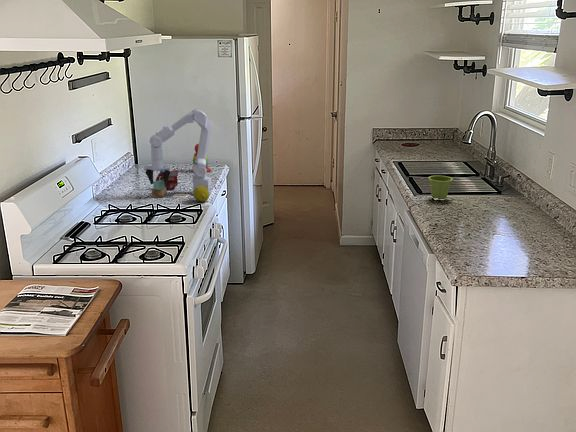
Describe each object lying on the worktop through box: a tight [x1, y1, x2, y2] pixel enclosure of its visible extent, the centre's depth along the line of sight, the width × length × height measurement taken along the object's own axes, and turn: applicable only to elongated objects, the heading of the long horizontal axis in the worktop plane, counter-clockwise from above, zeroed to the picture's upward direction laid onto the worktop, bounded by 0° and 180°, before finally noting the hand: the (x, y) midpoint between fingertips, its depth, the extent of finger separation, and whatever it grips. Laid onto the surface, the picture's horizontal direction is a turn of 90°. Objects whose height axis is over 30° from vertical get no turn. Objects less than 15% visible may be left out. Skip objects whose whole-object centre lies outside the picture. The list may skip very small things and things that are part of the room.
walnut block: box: [151, 187, 168, 199], centre depth 298 cm, size 6×6×4 cm
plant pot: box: [428, 175, 453, 199], centre depth 289 cm, size 12×12×11 cm
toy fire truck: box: [155, 170, 179, 191], centre depth 312 cm, size 7×12×10 cm, turn 91°
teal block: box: [152, 180, 165, 190], centre depth 297 cm, size 4×4×4 cm
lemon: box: [193, 186, 210, 203], centre depth 287 cm, size 11×8×8 cm
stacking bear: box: [192, 143, 213, 173], centre depth 352 cm, size 11×10×18 cm
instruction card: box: [171, 193, 191, 199], centre depth 298 cm, size 8×6×1 cm
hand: (158, 184), depth 296 cm, fingers open, 7 cm apart
